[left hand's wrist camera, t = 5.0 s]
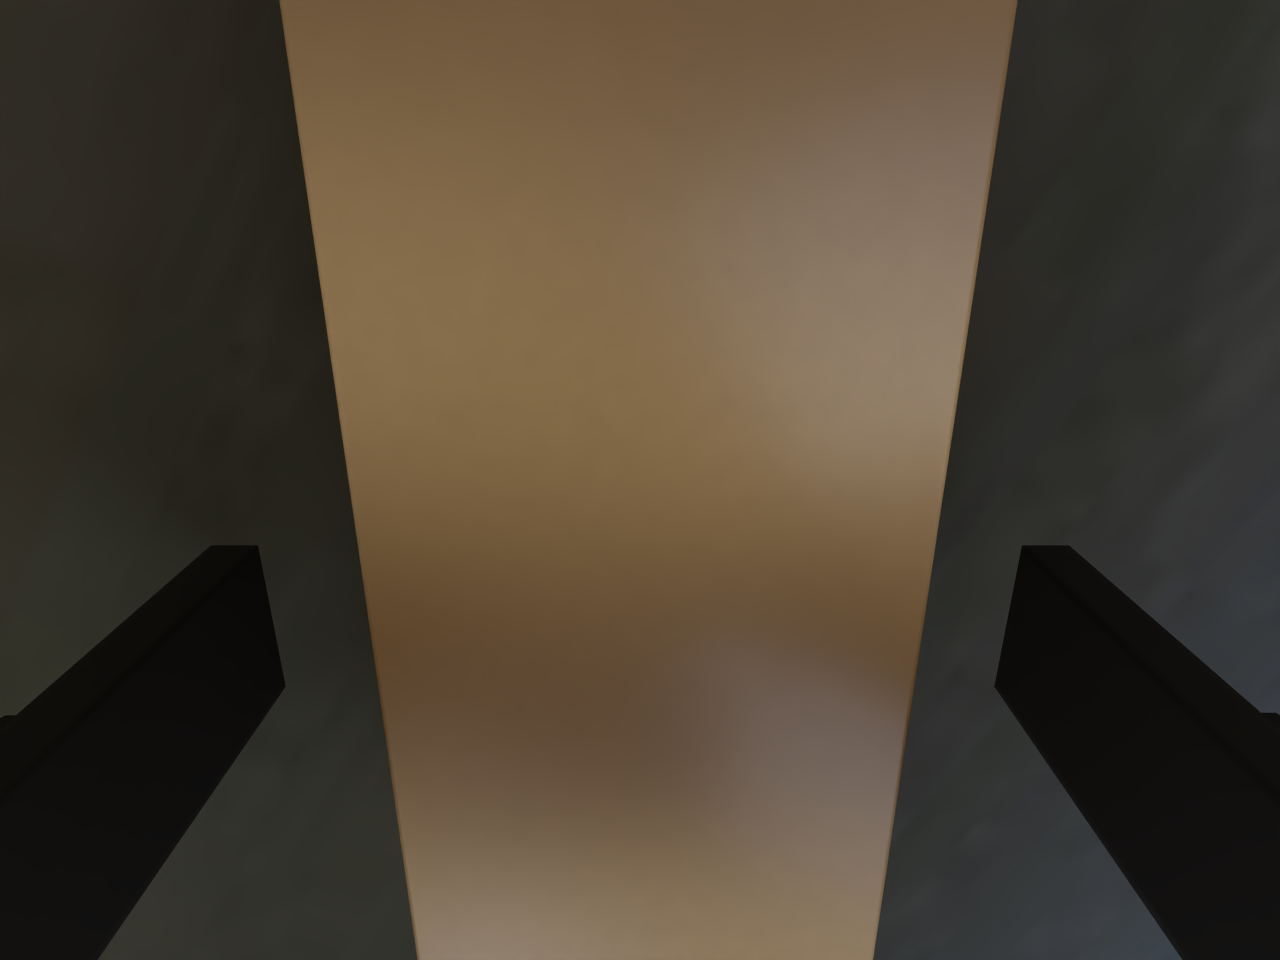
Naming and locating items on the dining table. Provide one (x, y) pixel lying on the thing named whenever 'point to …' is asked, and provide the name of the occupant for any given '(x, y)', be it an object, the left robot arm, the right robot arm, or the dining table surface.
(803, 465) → the beam
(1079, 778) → the left robot arm
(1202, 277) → the dining table surface
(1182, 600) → the dining table surface
